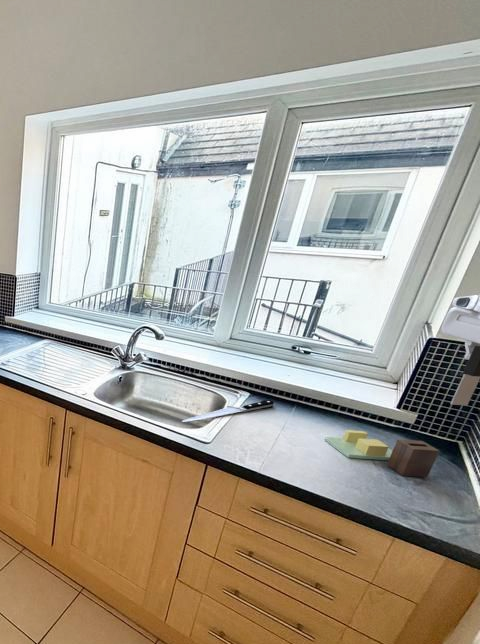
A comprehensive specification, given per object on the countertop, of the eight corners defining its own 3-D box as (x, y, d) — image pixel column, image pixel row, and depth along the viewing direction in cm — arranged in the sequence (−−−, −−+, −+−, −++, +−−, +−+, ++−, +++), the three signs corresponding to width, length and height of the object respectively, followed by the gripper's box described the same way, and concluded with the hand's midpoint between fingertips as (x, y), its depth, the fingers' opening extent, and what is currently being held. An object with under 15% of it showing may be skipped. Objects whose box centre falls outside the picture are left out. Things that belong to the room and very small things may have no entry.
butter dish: (374, 443, 125) (375, 440, 125) (402, 461, 116) (404, 458, 116) (324, 439, 127) (325, 436, 126) (348, 457, 118) (349, 454, 117)
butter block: (373, 448, 120) (377, 439, 119) (385, 456, 117) (388, 446, 116) (354, 447, 121) (358, 438, 120) (365, 454, 117) (369, 445, 116)
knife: (461, 403, 105) (488, 346, 100) (471, 407, 103) (499, 349, 98) (446, 402, 106) (472, 345, 100) (455, 406, 103) (482, 348, 98)
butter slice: (360, 440, 125) (364, 431, 124) (364, 442, 124) (368, 433, 123) (342, 438, 125) (345, 429, 124) (346, 441, 124) (349, 432, 123)
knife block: (410, 466, 114) (422, 440, 111) (427, 477, 109) (439, 450, 106) (386, 464, 114) (397, 439, 112) (402, 475, 110) (413, 449, 107)
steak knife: (168, 420, 139) (169, 413, 139) (260, 402, 151) (262, 396, 150) (181, 426, 135) (182, 419, 134) (275, 407, 146) (276, 401, 145)
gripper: (577, 316, 86) (543, 379, 90) (475, 298, 105) (452, 350, 109) (542, 315, 86) (510, 378, 91) (447, 297, 105) (425, 349, 110)
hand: (478, 362), depth 100 cm, fingers closed on knife, 2 cm apart
